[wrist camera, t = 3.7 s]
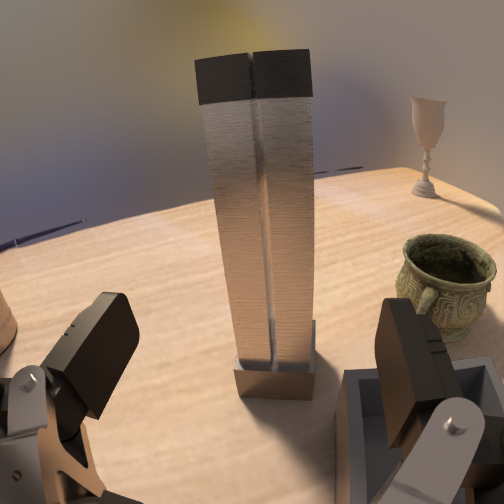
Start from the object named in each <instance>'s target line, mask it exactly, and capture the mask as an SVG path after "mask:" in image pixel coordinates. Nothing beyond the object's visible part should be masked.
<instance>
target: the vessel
mask: <svg viewBox="0 0 504 504" xmlns="http://www.w3.org/2000/svg"><path fill="white" fill-rule="evenodd" d="M403 254H404V257H405V262H404V265H403V267H402V269H401V271H400V273H399V275H398V277H397V280H396V292H397V298H410V299H411V301H412V303H413V306H414V308H415V311H416V313H417V315H419V314H426V315H427V316H428V317H429V318H430V319H431V320H432V321H433V322H434V323H435V324H436V325H437V327H438V330H439V332H440V334H441V337H442V342H444V343H450V342H454V341H457V340H459V339H462V338H463V337H464V336H465V335H466V334H467V333H468V332H469V330H470V324H471V323H473V322H474V321H475V320H476V319H477V318H478V317H479V316H480V315H481V314H482V313H483V311H484V309H485V305H486V295H487V292H490V290H491V281H492V280H493V279H494V278H495V276H496V272H497V269H496V265H495V262H494V261H493V259H492V258H491V256H490V255H489V254H487V253H486V252H485V251H484V250H483V249H482V248H480V247H479V246H477V245H476V244H474V243H472V242H469V241H467V240H465V239H462V238H459V237H455V236H451V235H445V234H423V235H417V236H415V237H413V238H410V239H409V240H407V241H406V243H405V245H404V247H403Z"/></svg>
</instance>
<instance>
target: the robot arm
mask: <svg viewBox="0 0 504 504" xmlns="http://www.w3.org/2000/svg"><path fill="white" fill-rule="evenodd" d="M16 329H17V322H16V320H15V318H14V316H13V314H12V312H11V310H10V308H9V307H8V305H7V303H6V301H5V299H4V297H3V295H2V292H1V290H0V354H1V353H2V352H3V351H4V350H5V349H6V348H7V346H8V345H9V344H10V343H11V341H12V339H13V338H14V335H15V333H16ZM138 343H139V328H138V325H137V323H136V320H135V318H134V315H133V312H132V310H131V307H130V304H129V302H128V299H127V297H126V295H125V294H123V293H113V292H102V293H101V294H100V295H99V296H98V297H97V298H96V300H95V301H94V302H93V303H92V305H90V306H89V307H88V308H86V309H85V310H84V311H82V312H81V313H80V314H79V315H78V316H77V317H76V318H75V320H74V321H73V322H72V323H71V327H68V329H67V330H66V331H65V333H64V335H62V336H61V338H60V339H59V340H58V342H57V343H56V345H55V346H54V347H53V349H52V350H51V351H50V353H49V354H48V355H47V357H46V358H45V360H44V361H43V362H42V364H41V365H40V366H36V365H30V366H27V367H24V368H22V369H21V370H19V371H18V372H17V373H16V374H15V375H14V376H13V378H0V504H143V503H142V502H139V501H136V500H133V499H130V498H127V497H124V496H121V495H118V494H115V493H112V492H110V491H107V489H106V487H105V485H104V484H103V482H102V481H101V480H100V478H99V476H98V474H97V472H96V469H95V465H94V461H93V457H92V453H91V449H90V444H89V440H88V435H87V431H86V427H85V424H84V423H83V422H82V421H83V420H84V418H85V416H87V417H90V418H93V419H97V420H99V418H100V416H101V414H102V412H103V410H104V408H105V406H106V404H107V402H108V400H109V398H110V396H111V395H112V393H113V391H114V389H115V387H116V385H117V383H118V381H119V379H120V377H121V375H122V374H123V372H124V370H125V368H126V366H127V364H128V362H129V360H130V359H131V357H132V355H133V353H134V351H135V349H136V348H137V346H138ZM375 359H376V364H377V370H378V376H379V381H380V388H381V394H382V400H383V407H384V414H385V422H386V430H387V438H388V447H389V449H392V448H400V447H401V454H402V459H401V460H400V461H399V463H398V464H397V466H396V467H395V469H394V470H393V472H392V473H391V475H390V476H389V477H388V479H387V480H386V482H385V483H384V484H383V486H382V487H381V488H380V490H379V491H378V492H377V494H376V495H375V496H374V498H373V499H372V500H371V502H370V503H369V504H451V503H452V500H453V498H454V496H455V495H456V493H457V491H458V489H459V488H464V490H465V501H466V504H504V417H497V416H488V415H484V414H483V413H482V411H481V410H480V408H479V407H478V406H477V405H476V404H475V403H473V402H472V401H470V400H468V399H465V398H464V396H463V394H462V391H461V388H460V385H459V382H458V379H457V376H456V373H455V371H454V368H453V365H452V362H451V360H450V357H449V354H448V353H447V349H446V347H445V344H444V342H442V337H441V334H440V332H439V330H438V327H437V325H436V324H435V323H434V322H433V321H432V320H431V319H430V318H429V317H428V316H427V315H426V314H419V315H417V313H416V311H415V308H414V306H413V303H412V301H411V299H410V298H385V299H384V300H383V303H382V308H381V313H380V318H379V323H378V328H377V332H376V337H375Z"/></svg>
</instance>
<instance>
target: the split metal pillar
mask: <svg viewBox="0 0 504 504" xmlns="http://www.w3.org/2000/svg"><path fill="white" fill-rule="evenodd" d="M194 62H195V71H196V81H197V90H198V99H199V105H202V107H203V116H204V124H205V133H206V140H207V149H208V157H209V164H210V172H211V180H212V188H213V195H214V202H215V210H216V217H217V224H218V231H219V238H220V245H221V251H222V258H223V265H224V271H225V278H226V284H227V291H228V297H229V303H230V309H231V316H232V322H233V328H234V334H235V340H236V346H237V351H238V354H237V358H236V362H235V365H234V369H233V370H234V375H235V379H236V384H237V389H238V394H239V396H242V397H254V398H269V399H289V400H312V396H313V386H314V375H315V320H312V319H313V290H314V170H313V169H314V168H313V142H312V141H313V140H312V118H311V101H310V97H313V92H312V79H311V64H310V52H309V49H298V50H297V49H296V50H277V51H276V50H275V51H262V52H253V56H252V55H250V54H249V53H242V54H232V55H225V56H218V57H211V58H205V59H198V60H195V61H194Z"/></svg>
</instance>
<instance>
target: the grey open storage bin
mask: <svg viewBox="0 0 504 504" xmlns="http://www.w3.org/2000/svg"><path fill="white" fill-rule="evenodd" d="M451 362H452V365H453V368H454V371H455V373H456V376H457V379H458V382H459V385H460V388H461V391H462V394H463V396H464V398H465V399H468V400H470V401H472V402H473V403H475V404H476V405H477V406H478V407H479V408H480V410H481V411H482V413H483V414H484V415H488V416H497V417H504V385H503V383H502V381H501V378H500V376H499V374H498V372H497V369H496V367H495V365H494V363H493V361H492V359H491V356H490V355H488V356H482V357H476V358H470V359H463V360H456V361H451ZM334 418H335V500H334V504H369V503H370V502H371V500H372V499H373V498H374V496H375V495H376V494H377V492H378V491H379V490H380V488H381V487H382V486H383V484H384V483H385V482H386V480H387V479H388V477H389V476H390V475H391V473H392V472H393V470H394V469H395V467H396V466H397V464H398V463H399V461H400V460H401V459H402V454H401V447H400V448H392V449H389V447H388V438H387V430H386V422H385V414H384V407H383V400H382V394H381V388H380V381H379V376H378V370H377V368H376V369H356V370H344V374H343V379H342V384H341V389H340V394H339V399H338V404H337V408H336V413H335V417H334ZM451 504H466V501H465V490H464V488H459V489H458V491H457V493H456V495H455V496H454V498H453V500H452V503H451Z"/></svg>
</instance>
